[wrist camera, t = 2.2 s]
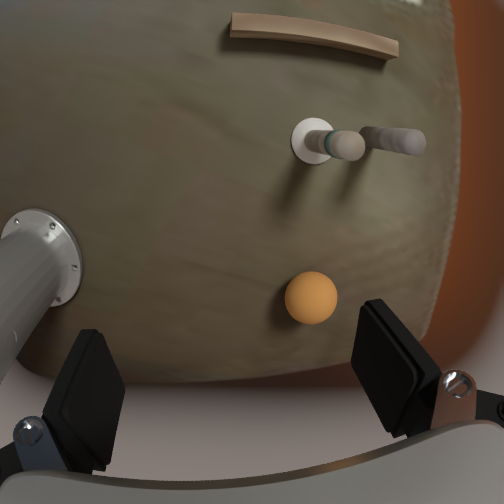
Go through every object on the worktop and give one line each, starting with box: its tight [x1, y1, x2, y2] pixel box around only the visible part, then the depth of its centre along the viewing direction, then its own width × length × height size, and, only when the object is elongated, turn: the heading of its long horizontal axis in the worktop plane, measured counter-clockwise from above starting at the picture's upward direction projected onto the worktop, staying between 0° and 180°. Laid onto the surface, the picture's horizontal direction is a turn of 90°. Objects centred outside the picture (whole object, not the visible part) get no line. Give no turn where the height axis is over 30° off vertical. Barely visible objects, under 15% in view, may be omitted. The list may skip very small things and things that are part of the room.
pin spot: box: [291, 118, 333, 164], centre depth 30 cm, size 5×5×1 cm
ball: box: [285, 271, 337, 324], centre depth 33 cm, size 6×6×6 cm
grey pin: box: [359, 127, 426, 156], centre depth 26 cm, size 2×2×9 cm
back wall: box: [230, 13, 399, 60], centre depth 24 cm, size 2×18×2 cm, turn 89°
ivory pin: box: [304, 130, 365, 161], centre depth 26 cm, size 2×2×9 cm
